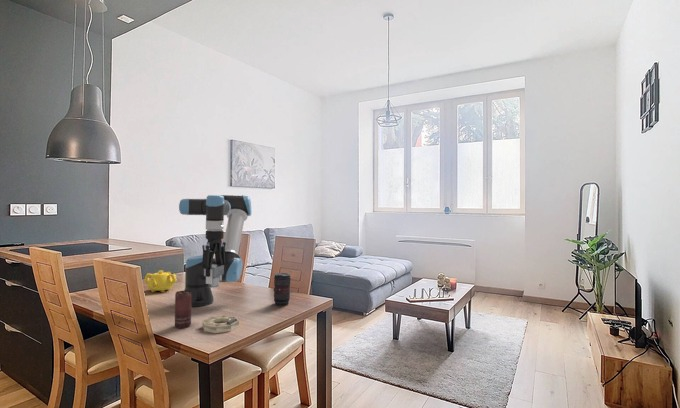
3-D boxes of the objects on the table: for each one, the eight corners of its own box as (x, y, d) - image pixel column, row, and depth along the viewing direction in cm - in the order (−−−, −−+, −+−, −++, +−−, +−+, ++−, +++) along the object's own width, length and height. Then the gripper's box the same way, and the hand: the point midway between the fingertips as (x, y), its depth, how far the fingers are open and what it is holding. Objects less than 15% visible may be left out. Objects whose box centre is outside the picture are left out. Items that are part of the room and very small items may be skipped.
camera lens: (286, 307, 176) (287, 276, 176) (271, 305, 178) (271, 275, 178) (292, 302, 184) (292, 273, 184) (277, 301, 186) (277, 272, 186)
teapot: (167, 295, 191) (167, 274, 191) (134, 294, 192) (134, 273, 191) (184, 286, 211) (184, 267, 211) (154, 286, 212) (154, 267, 211)
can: (177, 323, 150) (177, 289, 150) (192, 323, 150) (193, 289, 150) (171, 328, 144) (172, 293, 143) (188, 328, 144) (188, 293, 144)
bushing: (203, 287, 158) (204, 266, 158) (212, 284, 164) (212, 264, 164) (215, 288, 156) (215, 267, 156) (223, 285, 162) (224, 265, 162)
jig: (195, 330, 143) (196, 322, 143) (216, 319, 156) (216, 312, 156) (225, 334, 139) (225, 326, 139) (244, 323, 152) (244, 315, 152)
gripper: (208, 232, 150) (207, 287, 150) (234, 228, 168) (233, 278, 168) (193, 231, 152) (192, 286, 152) (220, 228, 170) (219, 276, 170)
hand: (213, 281), depth 160 cm, fingers closed on bushing, 6 cm apart
